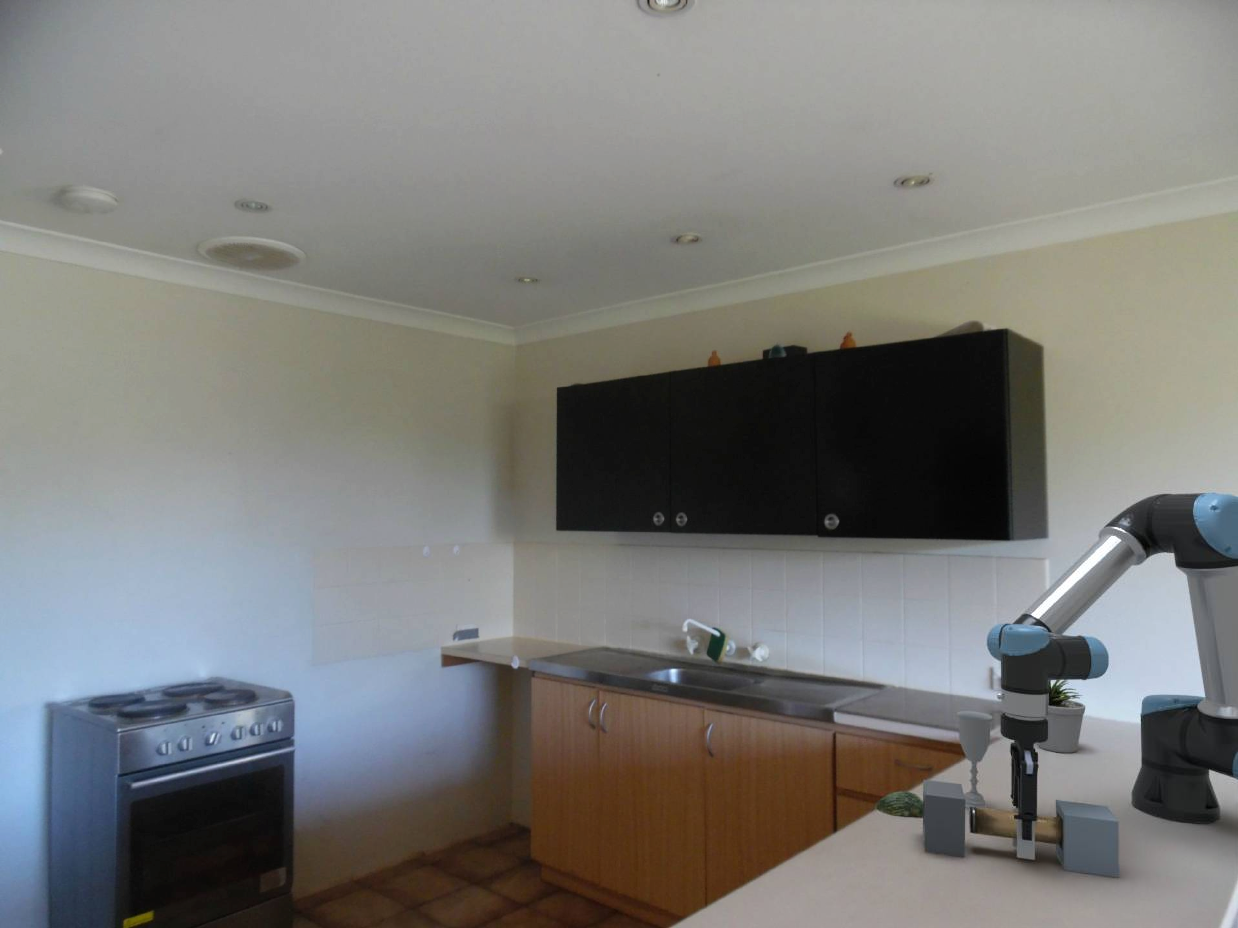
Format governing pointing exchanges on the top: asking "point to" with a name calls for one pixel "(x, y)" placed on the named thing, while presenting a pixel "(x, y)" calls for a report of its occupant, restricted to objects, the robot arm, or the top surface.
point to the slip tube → (1013, 825)
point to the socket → (943, 818)
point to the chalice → (974, 748)
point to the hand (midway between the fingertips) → (1023, 851)
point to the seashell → (901, 804)
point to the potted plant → (1063, 720)
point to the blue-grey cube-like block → (1088, 839)
